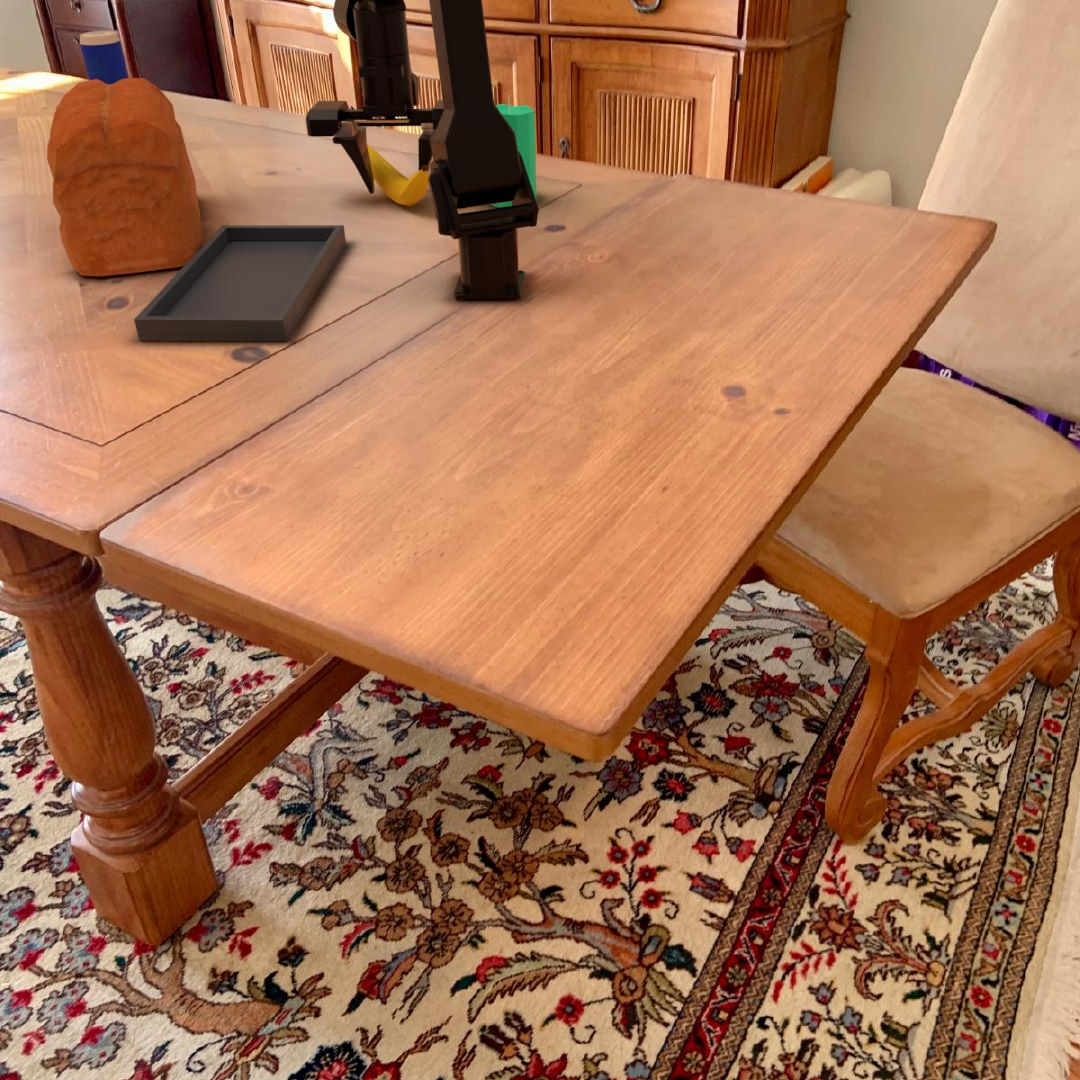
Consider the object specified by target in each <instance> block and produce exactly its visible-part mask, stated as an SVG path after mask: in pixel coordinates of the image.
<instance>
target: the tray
mask: <svg viewBox="0 0 1080 1080" xmlns="http://www.w3.org/2000/svg"><path fill="white" fill-rule="evenodd" d="M346 245H347V239H346V233H345V226H344V224H337V225H335V224H330V225H329V224H327V225H326V224H321V225H320V224H316V225H315V224H314V225H313V224H312V225H311V224H306V225H305V224H301V225H299V224H298V225H297V224H295V225H293V224H291V225H290V224H285V225H283V224H281V225H280V224H279V225H278V224H277V225H276V224H270V225H267V224H264V225H262V224H261V225H260V224H258V225H257V224H256V225H255V224H253V225H252V224H249V225H247V224H245V225H242V224H241V225H240V224H236V225H235V224H233V225H231V224H229V225H227V224H226V225H224V224H222V225H221V226H220V227H219V228H218V229H217V230H216V231H215V232H214V233H213V234H212V235H211V236H210V237H209V239H208V240H207V241H206V242H205V243H203V246H202V247H201V248H200V250H199V251H198V252H197V253H196V254H195V255H194V256H193V257H192V258H191V259H190V260H189V261H188V262H187V263H186V264H185V265H184V266H182V268H181V269H179V270H178V271H177V272H176V274H175V275H174V276H173V277H172V278H171V279H170V280H169V281H168V282H167V284H166V285H165V286H164V287H163V288H162V289H161V290H160V291H159V292H158V293H157V294H156V295H155V296H154V298H153V299H151V300H150V302H149V303H148V304H147V305H146V306H145V307H144V308H143V310H141V311H140V312H139V313H138V315H136V316H135V317H134V319H133V321H134V325H135V329H136V332H137V336H138V340H139V341H140V342H258V343H259V342H268V343H269V342H278V343H279V342H282V343H283V342H284V343H287V342H288V340H289V338H290V337H291V335H292V334H293V332H294V331H295V329H296V327H297V325H298V324H299V322H300V321H301V319H302V317H303V316H304V315H305V313H306V311H307V309H308V308H309V306H310V305H311V303H312V301H313V299H314V298H315V296H316V294H317V293H318V291H319V289H320V288H321V286H322V284H323V283H324V281H325V279H326V278H327V277H328V276H329V275H328V274H329V273H330V272H331V270H332V268H333V266H334V265H335V263H336V262H337V260H338V258H339V257H340V255H341V253H342V252H343V250H344V248H345V247H346Z"/></svg>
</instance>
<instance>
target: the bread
mask: <svg viewBox="0 0 1080 1080" xmlns="http://www.w3.org/2000/svg"><path fill="white" fill-rule="evenodd" d="M184 138H185V137H184V135H183V130H182V127H181V125H180V124H179V123H178V121H177V120H176V113H175V110H174V105H173V103H172V102H171V100H169V98H168V97H167V96H166V95H165V93H164V92H163V91H162V90H161V89H160V88H158V87H157V86H155V84H153V83H151V82H150V81H149V80H147V79H146V78H144V77H128V78H126V79H122V80H119V81H118V82H116V83H113V84H111V85H108V84H106V83H104V82H102V81H100V80H98V79H94V80H90V81H89V80H85V81H82V82H81V81H80V82H78V83H76V84H75V85H74V86H73V87H72V88H71V89H70V90H69V91H67V92H66V93H65V94H64V95H63V96H62V98H61V100H60V102H59V103H58V104H57V105H56V107H55V111H54V113H53V117H52V123H51V126H50V131H49V139H48V143H47V147H46V161H47V164H48V167H49V169H50V172H51V175H52V178H53V180H52V204H53V206H54V208H55V210H56V212H57V213H58V215H59V220H60V223H59V226H58V227H59V228H58V229H59V233H60V238H61V243H62V246H63V249H64V250H65V253H66V255H67V257H68V259H69V261H70V264H71V266H72V268H73V269H74V271H76V272H77V273H78V274H79V275H81V276H87V277H104V276H105V277H108V276H116V275H128V274H136V273H144V272H150V271H151V272H152V271H159V270H167V269H173V268H174V269H175V268H181V267H184V266H185V264H186V263H187V262H188V261H189V260H190V259H191V258H192V257H193V256H194V255H195V254H196V253H197V252H198V251H199V250H200V248H201V247H202V246H203V245H204V239H203V231H202V221H201V211H200V206H199V200H198V199H199V198H198V192H197V191H198V190H197V184H196V177H195V174H194V170H193V167H192V165H191V161H190V158H189V154H188V150H187V146H186V142H185V139H184Z"/></svg>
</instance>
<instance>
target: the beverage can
mask: <svg viewBox="0 0 1080 1080" xmlns="http://www.w3.org/2000/svg"><path fill="white" fill-rule="evenodd" d="M79 45H80V49H81V53H82V54H81V55H82V56H83V57H82V58H83V62H84V64H85V69H86V73H87V76H88V81H90V80H94V79H98V80H100V81H102V82H104V83H106V84H108V85H111V84H113V83H116V82H118V81H119V80H122V79H126V78H129V74H128V70H127V66H126V61H125V57H124V53H123V49H122V45H121V40H120V38H119V36H118V34H117V32H116V31H115V30H114V31H113V30H96V31H88V32H83V33H81V34H80V35H79Z"/></svg>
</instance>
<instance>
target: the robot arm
mask: <svg viewBox="0 0 1080 1080" xmlns="http://www.w3.org/2000/svg"><path fill="white" fill-rule="evenodd" d="M428 2H429V9H430V10H429V11H430V16H431V17H430V18H431V24H432V30H433V31H432V32H433V39H434V45H435V53H436V59H437V68H438V75H439V83H440V89H441V99H437V101H436V103H435V104H434V106H433V107H432V108H415V107H418V106H419V105H420V93H419V92H420V91H419V90H420V89H419V76H417V75H416V74H415V73H414V72H413V71H412V66H411V59H410V50H409V49H410V48H409V38H408V37H409V36H408V26H407V25H408V24H407V15H406V14H407V13H406V11H407V5H406V2H405V0H334V4H333V9H332V14H333V19H334V22H335V24H336V26H337V27H338V29H339V30H340V31H341V32H342V33H343V34H344V35H346V36H347V37H348V38H350V39H352V40H353V41H355V42H356V47H357V56H358V64H359V65H358V88H359V89H358V90H359V94H360V95H362V99H363V100H362V101H363V106H362V108H358V109H357V108H351V109H350V107H349V104H348V102H347V100H318V101H317V102H316V103H315V104H314V105H313V106H312V107H310V108H309V110H308V111H307V113H306V114H305V126H306V132H307V136H308V137H318V138H319V137H323V138H325V137H332V143H333V144H334V145H340V146H341V147H342V148H343V150H344V151H345V153H346V154H347V156H348V157H349V159H350V160H351V162H352V163H353V165H354V166H355V168H356V170H357V172H358V174H359V176H360V177H361V179H362V181H363V183H364V185H365V187H366V188H367V191H368V193H369V194H371V195H373V194H374V193H375V191H376V190H375V180H374V177H373V172H372V167H371V162H370V157H369V152H368V147H367V144H368V141H367V139H368V137H367V127H420V129H421V131H422V133H421V134H420V135H419V138H418V139H417V143H418V146H417V147H418V171H420V170H422V166H425V165H427V166H428V167H429V169H428V170H427V172H428V174H429V178H428V188H429V190H430V195H431V198H432V201H433V206H434V207H433V208H434V212H435V218H436V220H437V230H438V234H439V235H441V236H447V237H449V236H450V237H451V238H452V239H453V240H457V241H458V253H459V254H458V255H459V270H460V272H459V273H460V274H459V277H458V280H457V283H456V286H455V289H454V292H453V297H454V299H455V300H520V299H521V298H522V294H523V288H524V283H525V278H526V272H525V271H524V270H519V246H518V244H519V242H518V229H521V228H528V227H530V228H533V227H537V224H538V218H539V212H540V211H539V205H538V201H537V197H536V198H535V195H534V192H533V189H532V186H531V183H530V180H529V177H528V174H527V171H526V168H525V165H524V162H523V159H522V156H521V154H520V152H519V151H518V147H517V142H516V136H515V132H514V130H513V129H512V128H511V126H510V125H509V123H508V122H507V121H506V119H505V118H504V116H503V115H502V114H501V112H500V111H499V110H498V108H497V107H496V105H497V104H495V99H494V98H495V97H494V92H493V91H494V90H493V83H492V75H491V74H492V73H491V66H490V58H489V57H490V56H489V49H488V48H489V47H488V41H487V40H488V39H487V32H486V23H485V15H484V5H483V0H428ZM510 201H512V206H506V207H494V208H487V209H481V210H474V211H468V212H461V213H459V211H458V210H464V209H470V208H471V209H472V208H476V207H477V208H478V207H485V206H490V205H491V204H498V203H504V202H510ZM491 206H492V205H491Z"/></svg>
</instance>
